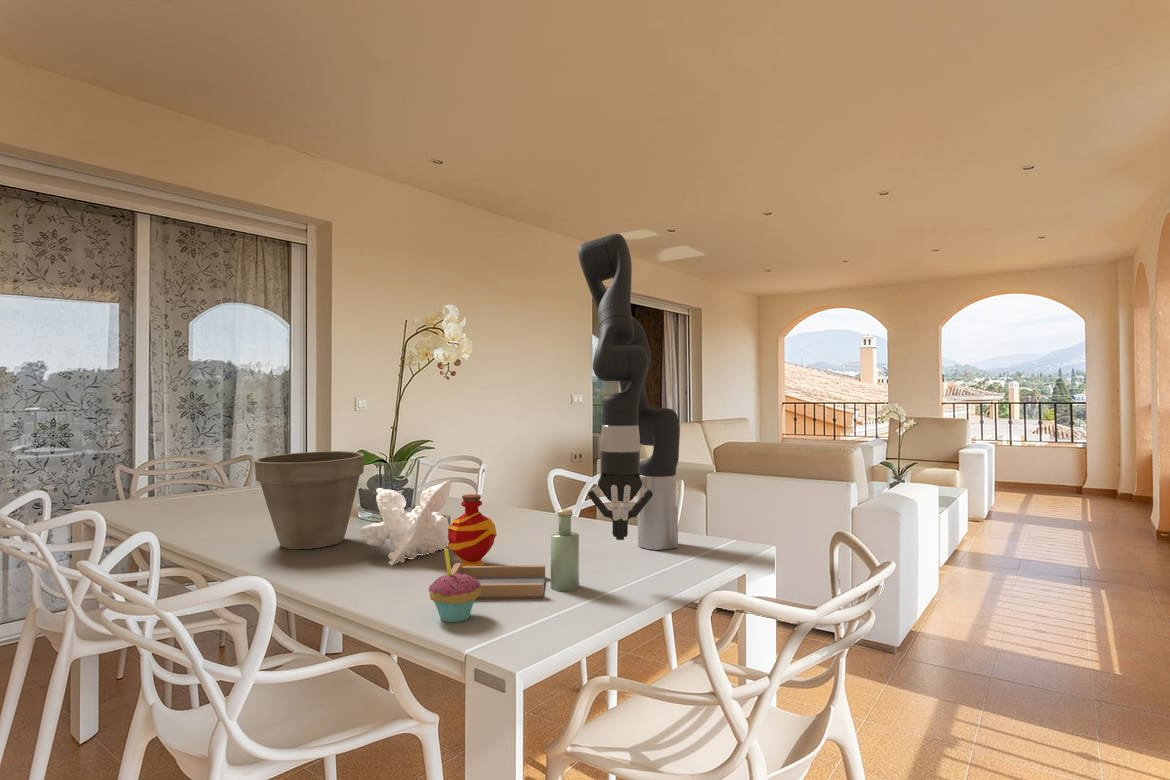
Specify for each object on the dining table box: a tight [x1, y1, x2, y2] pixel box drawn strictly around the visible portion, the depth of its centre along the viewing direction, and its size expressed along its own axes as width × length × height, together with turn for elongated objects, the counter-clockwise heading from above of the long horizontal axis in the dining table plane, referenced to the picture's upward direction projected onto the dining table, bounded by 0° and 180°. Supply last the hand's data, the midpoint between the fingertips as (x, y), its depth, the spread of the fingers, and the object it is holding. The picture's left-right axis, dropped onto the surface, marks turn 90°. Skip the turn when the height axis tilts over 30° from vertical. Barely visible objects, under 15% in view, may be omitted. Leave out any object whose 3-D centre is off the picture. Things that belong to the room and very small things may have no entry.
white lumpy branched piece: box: [359, 480, 452, 565], centre depth 150 cm, size 19×20×20 cm
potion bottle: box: [447, 493, 498, 566], centre depth 140 cm, size 10×10×15 cm
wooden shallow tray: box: [451, 562, 546, 600], centre depth 124 cm, size 18×13×3 cm
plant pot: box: [253, 450, 365, 550], centre depth 161 cm, size 25×25×22 cm
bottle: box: [550, 508, 580, 592], centre depth 124 cm, size 5×5×15 cm
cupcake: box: [428, 544, 482, 623], centre depth 108 cm, size 9×8×12 cm
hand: (619, 539), depth 124 cm, fingers closed
